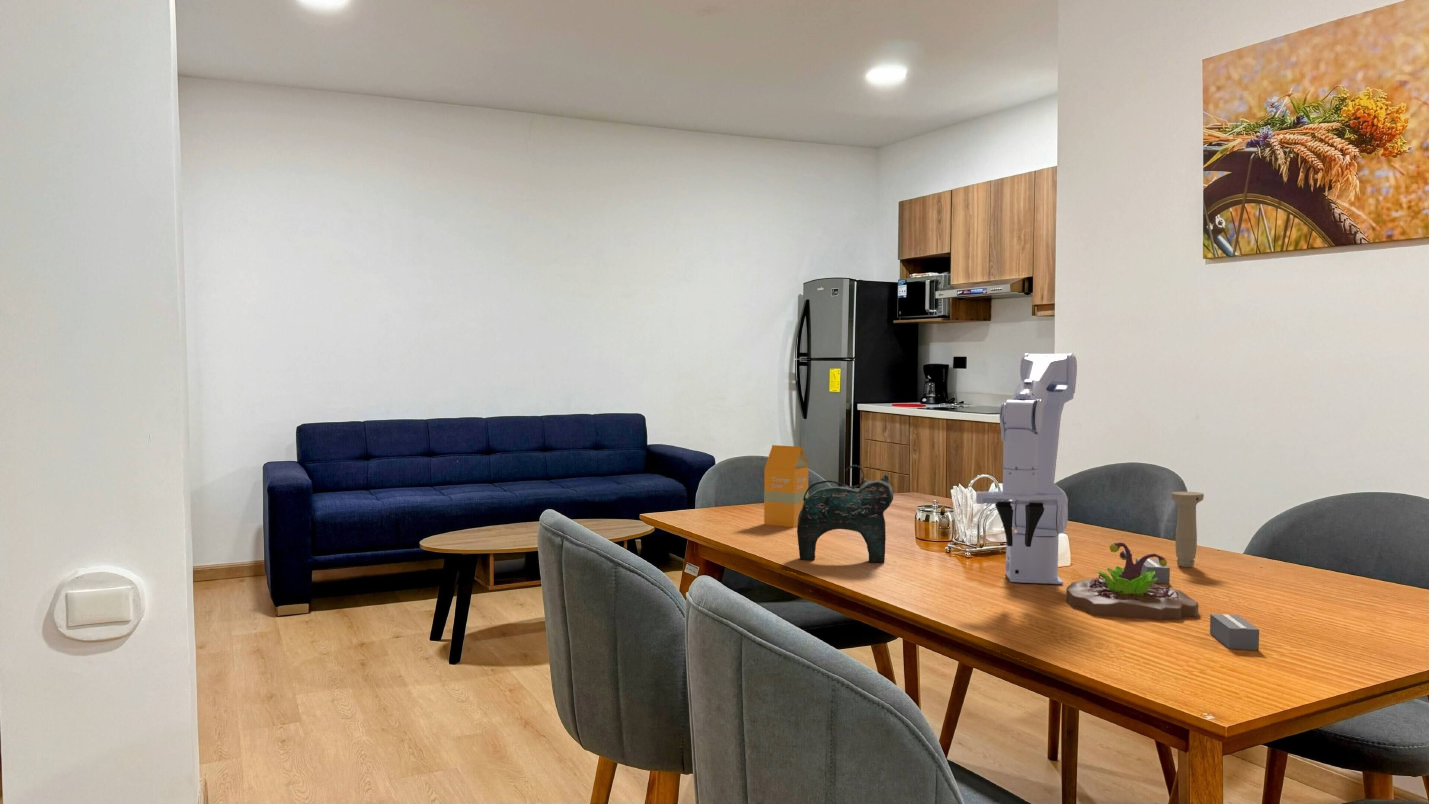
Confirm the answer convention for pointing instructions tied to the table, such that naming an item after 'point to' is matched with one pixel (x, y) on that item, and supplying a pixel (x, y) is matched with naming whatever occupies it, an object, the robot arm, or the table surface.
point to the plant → (1130, 593)
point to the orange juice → (784, 485)
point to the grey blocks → (1215, 616)
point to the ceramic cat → (846, 514)
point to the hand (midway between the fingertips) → (1018, 545)
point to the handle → (1186, 526)
